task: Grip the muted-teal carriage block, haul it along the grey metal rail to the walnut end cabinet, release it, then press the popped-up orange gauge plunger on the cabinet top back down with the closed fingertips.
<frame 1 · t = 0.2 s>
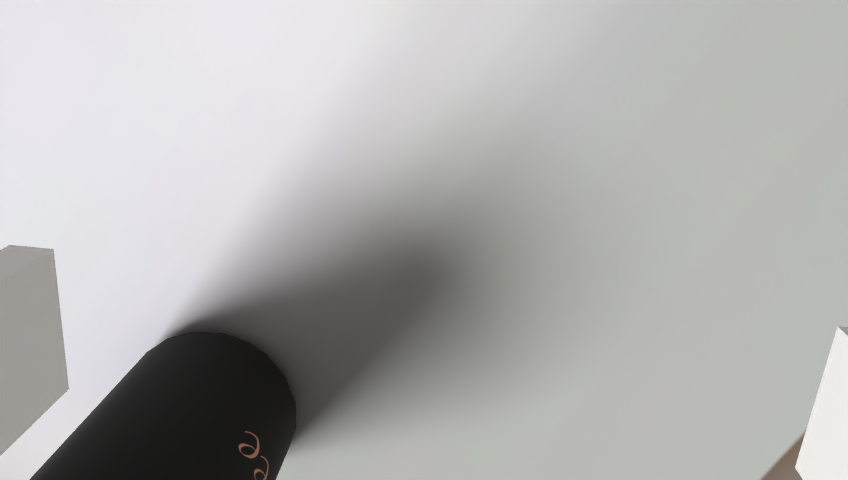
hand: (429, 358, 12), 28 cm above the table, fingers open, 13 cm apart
coffee jar: (220, 396, 46), on the table
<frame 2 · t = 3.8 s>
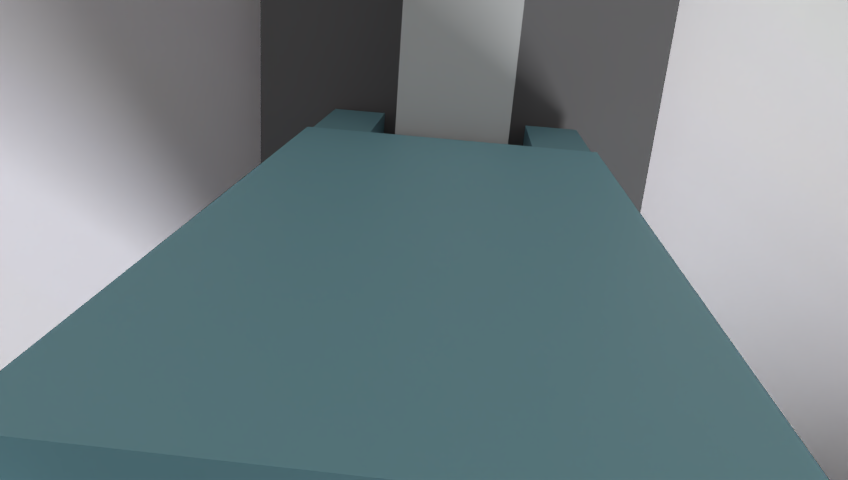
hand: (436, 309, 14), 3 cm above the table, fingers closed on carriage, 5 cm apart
carriage: (419, 430, 10), point 7 cm above the table, slide at 0.0 cm, touching gripper
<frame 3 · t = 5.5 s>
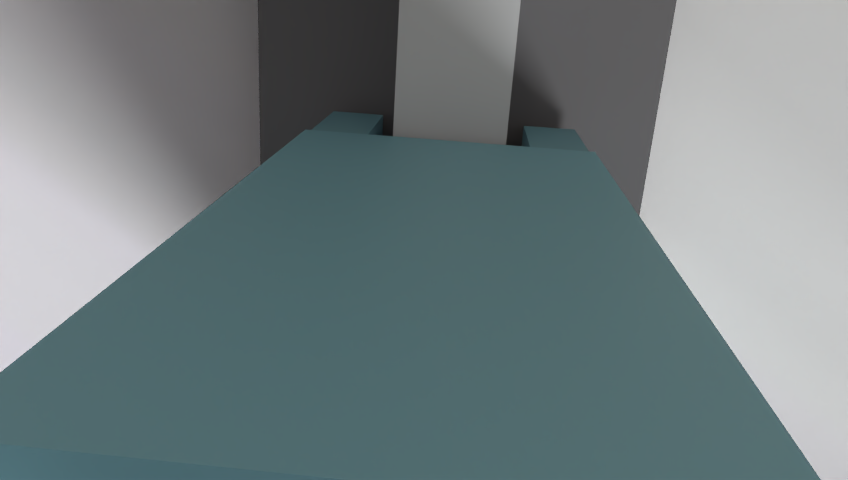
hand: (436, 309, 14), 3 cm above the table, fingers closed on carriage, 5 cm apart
rail: (440, 302, 17), on the table
carriage: (419, 432, 10), point 7 cm above the table, slide at 7.1 cm, touching gripper
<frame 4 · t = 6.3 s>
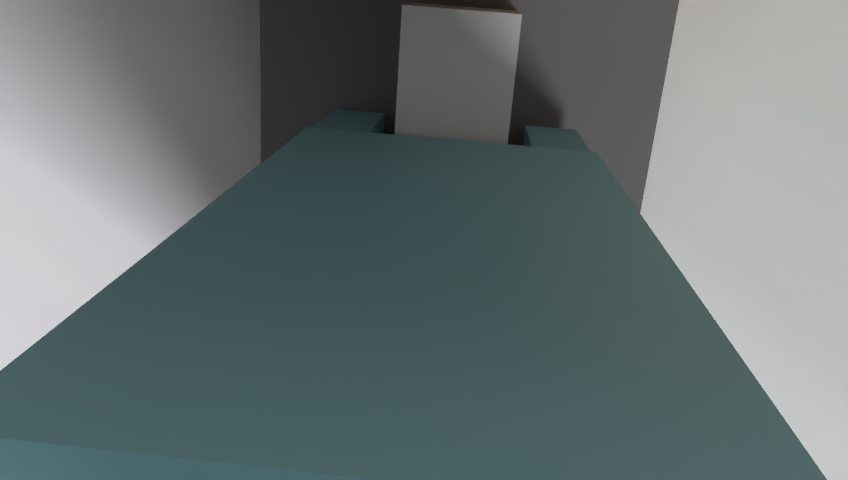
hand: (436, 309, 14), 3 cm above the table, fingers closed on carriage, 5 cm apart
rail: (428, 436, 18), on the table
carriage: (419, 430, 10), point 7 cm above the table, slide at 10.9 cm, touching gripper
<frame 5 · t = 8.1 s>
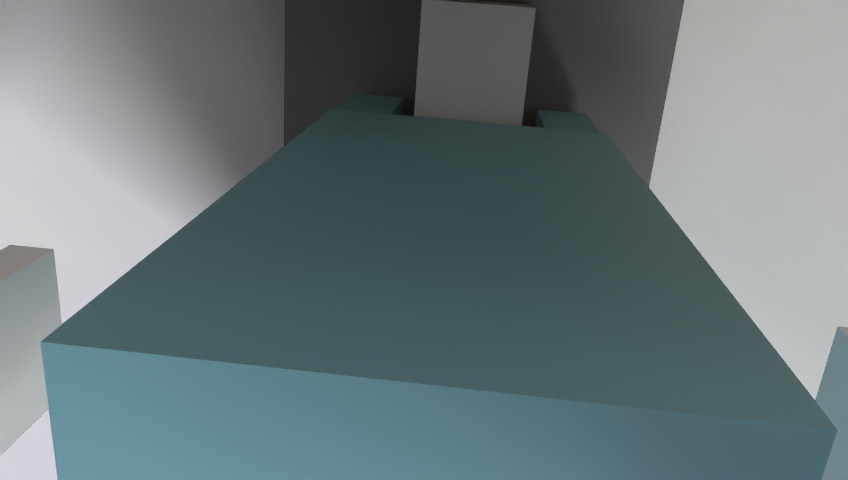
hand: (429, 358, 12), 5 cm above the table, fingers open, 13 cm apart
rail: (440, 415, 19), on the table
carriage: (439, 391, 11), point 7 cm above the table, slide at 11.0 cm
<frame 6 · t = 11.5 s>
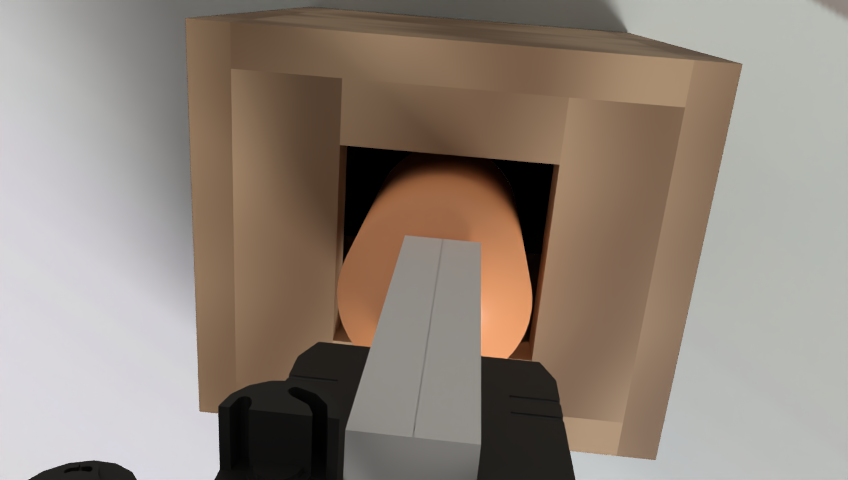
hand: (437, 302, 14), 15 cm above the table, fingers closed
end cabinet: (455, 151, 28), on the table
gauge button: (440, 250, 17), point 12 cm above the table, slide at -1.5 cm, touching gripper
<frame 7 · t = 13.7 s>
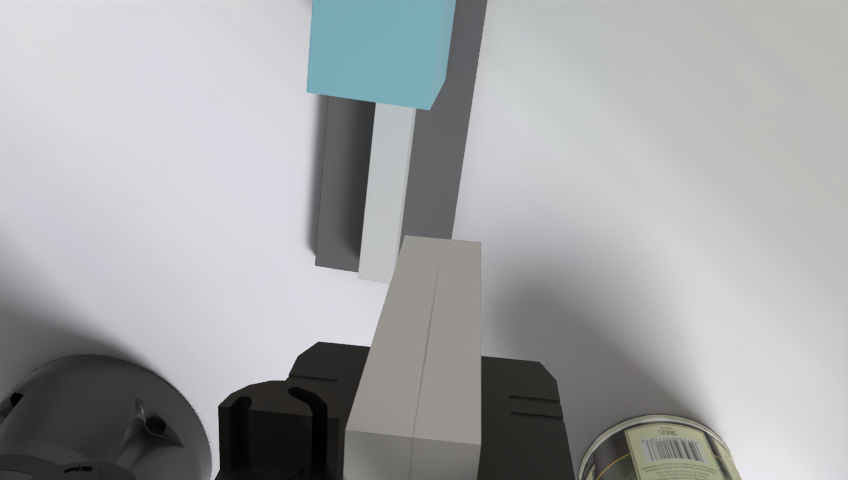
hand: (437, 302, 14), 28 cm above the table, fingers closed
rail: (402, 93, 40), on the table
carriage: (396, 5, 32), point 7 cm above the table, slide at 11.0 cm
coffee can: (655, 476, 48), on the table
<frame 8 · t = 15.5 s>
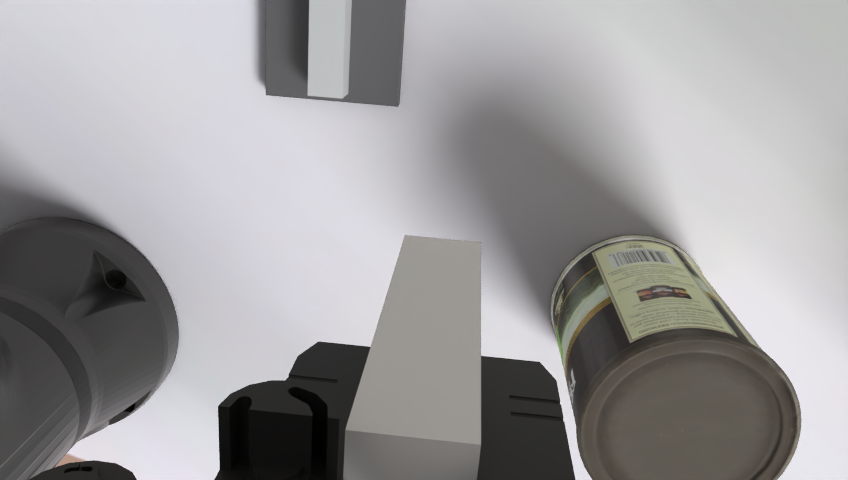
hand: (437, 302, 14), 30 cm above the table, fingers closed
coffee can: (628, 306, 47), on the table
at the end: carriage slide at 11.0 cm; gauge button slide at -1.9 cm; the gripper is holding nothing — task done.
